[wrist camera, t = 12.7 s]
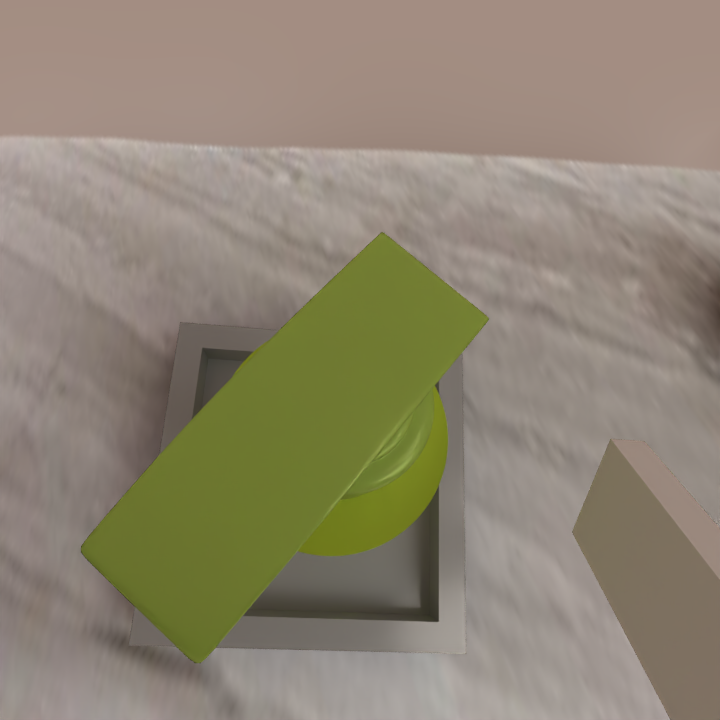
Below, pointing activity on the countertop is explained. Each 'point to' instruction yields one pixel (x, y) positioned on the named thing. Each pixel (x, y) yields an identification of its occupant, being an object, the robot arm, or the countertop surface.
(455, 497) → the holder tray
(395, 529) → the soap dispenser
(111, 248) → the countertop surface
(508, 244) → the countertop surface
